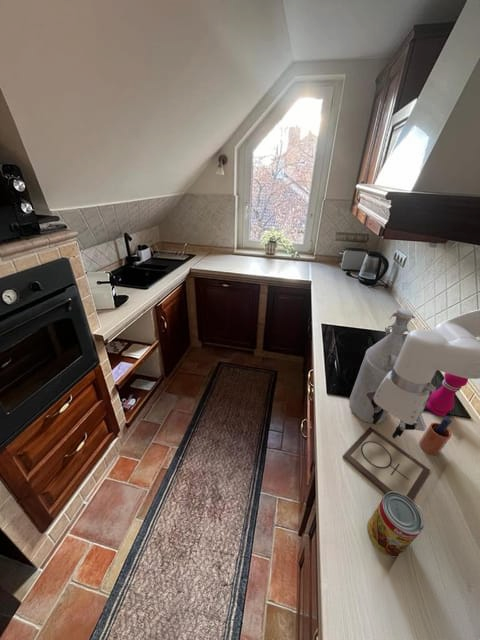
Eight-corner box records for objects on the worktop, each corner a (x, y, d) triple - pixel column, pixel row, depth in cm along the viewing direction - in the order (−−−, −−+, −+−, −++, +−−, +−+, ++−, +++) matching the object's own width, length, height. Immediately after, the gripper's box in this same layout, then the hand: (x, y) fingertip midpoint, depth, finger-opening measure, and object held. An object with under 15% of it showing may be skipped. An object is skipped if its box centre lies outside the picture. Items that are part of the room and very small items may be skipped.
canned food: (387, 564, 56) (407, 542, 49) (359, 524, 62) (374, 500, 56) (411, 546, 58) (433, 523, 52) (382, 509, 64) (399, 485, 58)
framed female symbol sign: (429, 472, 73) (431, 469, 72) (405, 511, 64) (407, 509, 64) (369, 428, 85) (370, 426, 84) (342, 456, 76) (343, 454, 76)
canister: (347, 418, 88) (382, 321, 68) (350, 385, 102) (381, 296, 81) (387, 432, 84) (438, 333, 63) (385, 396, 97) (427, 304, 77)
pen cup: (440, 449, 79) (453, 431, 74) (434, 459, 76) (447, 441, 71) (422, 437, 82) (433, 419, 78) (415, 446, 80) (427, 428, 75)
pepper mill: (424, 399, 97) (448, 358, 86) (447, 408, 93) (475, 366, 83) (423, 411, 91) (448, 369, 81) (447, 421, 88) (476, 379, 78)
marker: (433, 447, 79) (452, 419, 72) (431, 451, 78) (450, 423, 71) (426, 443, 80) (445, 415, 73) (424, 446, 79) (443, 418, 72)
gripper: (457, 392, 56) (425, 442, 65) (381, 354, 68) (363, 401, 77) (445, 409, 52) (413, 460, 61) (366, 366, 63) (349, 414, 73)
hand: (385, 427), depth 69 cm, fingers open, 4 cm apart
